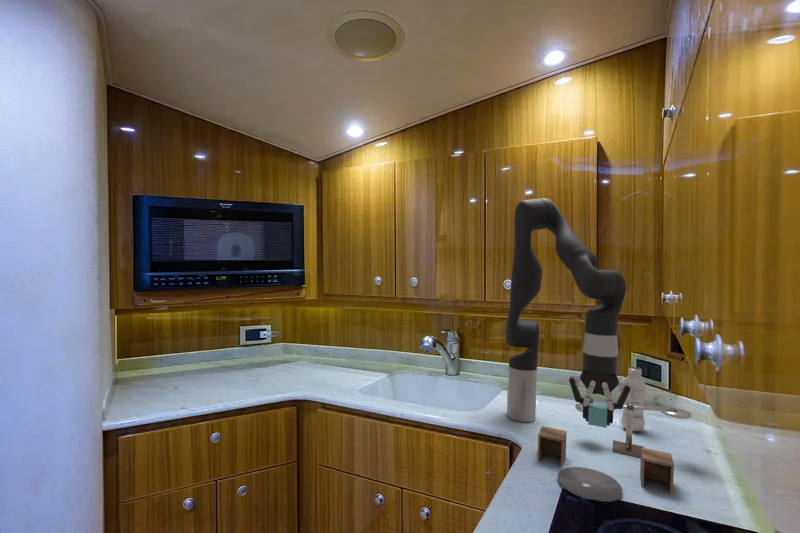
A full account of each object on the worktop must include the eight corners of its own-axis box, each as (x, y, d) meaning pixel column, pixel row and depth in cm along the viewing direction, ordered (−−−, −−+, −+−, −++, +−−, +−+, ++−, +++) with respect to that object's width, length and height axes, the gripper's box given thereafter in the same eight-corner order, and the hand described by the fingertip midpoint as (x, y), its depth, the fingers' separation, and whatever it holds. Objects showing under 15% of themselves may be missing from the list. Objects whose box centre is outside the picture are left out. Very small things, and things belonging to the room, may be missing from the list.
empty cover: (640, 474, 105) (641, 447, 105) (669, 481, 102) (671, 453, 102) (641, 486, 100) (642, 457, 100) (672, 494, 97) (674, 464, 97)
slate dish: (546, 473, 105) (546, 469, 105) (594, 468, 108) (595, 464, 108) (581, 506, 91) (581, 501, 91) (636, 499, 94) (636, 495, 94)
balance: (572, 443, 122) (574, 394, 122) (575, 435, 128) (576, 388, 128) (691, 469, 109) (693, 414, 108) (687, 458, 115) (689, 406, 115)
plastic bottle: (649, 433, 131) (652, 370, 130) (630, 434, 130) (632, 371, 129) (634, 425, 137) (637, 365, 137) (616, 426, 136) (618, 365, 136)
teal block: (588, 419, 104) (589, 403, 104) (606, 422, 102) (607, 406, 102) (588, 424, 100) (588, 407, 100) (606, 427, 98) (607, 411, 98)
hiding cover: (541, 450, 117) (542, 426, 117) (565, 456, 114) (566, 431, 114) (537, 460, 112) (538, 434, 111) (562, 466, 109) (563, 439, 108)
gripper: (567, 351, 101) (564, 421, 101) (634, 358, 94) (631, 434, 94) (569, 346, 107) (567, 412, 107) (632, 352, 101) (630, 423, 101)
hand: (597, 422), depth 101 cm, fingers closed on teal block, 4 cm apart
